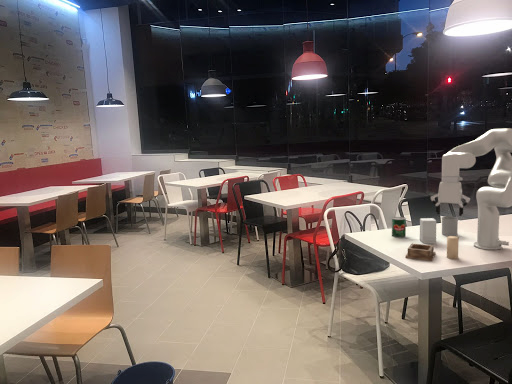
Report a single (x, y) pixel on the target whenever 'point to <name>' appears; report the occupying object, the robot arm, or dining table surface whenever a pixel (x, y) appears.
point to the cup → (449, 226)
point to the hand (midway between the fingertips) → (449, 214)
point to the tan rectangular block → (452, 247)
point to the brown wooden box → (421, 252)
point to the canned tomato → (398, 227)
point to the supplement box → (428, 230)
